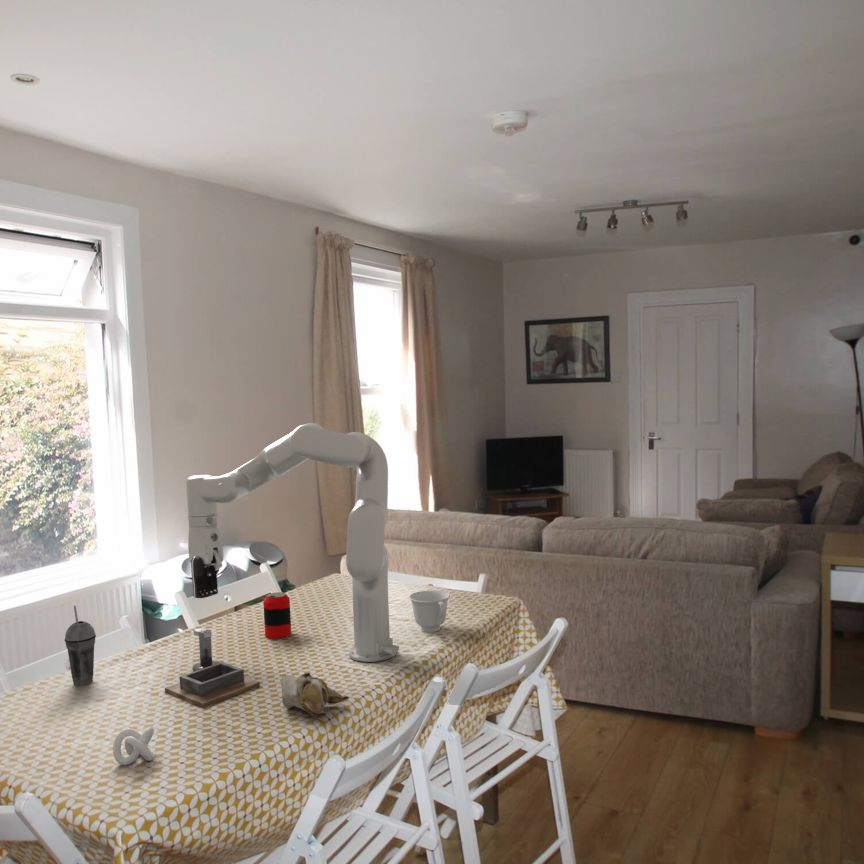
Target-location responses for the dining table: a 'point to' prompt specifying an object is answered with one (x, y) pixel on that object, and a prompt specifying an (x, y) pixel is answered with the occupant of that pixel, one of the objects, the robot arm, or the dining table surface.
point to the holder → (212, 684)
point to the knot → (133, 745)
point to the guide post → (204, 649)
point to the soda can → (277, 615)
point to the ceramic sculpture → (308, 694)
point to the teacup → (429, 609)
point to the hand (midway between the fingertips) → (206, 587)
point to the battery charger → (200, 579)
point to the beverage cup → (81, 651)
